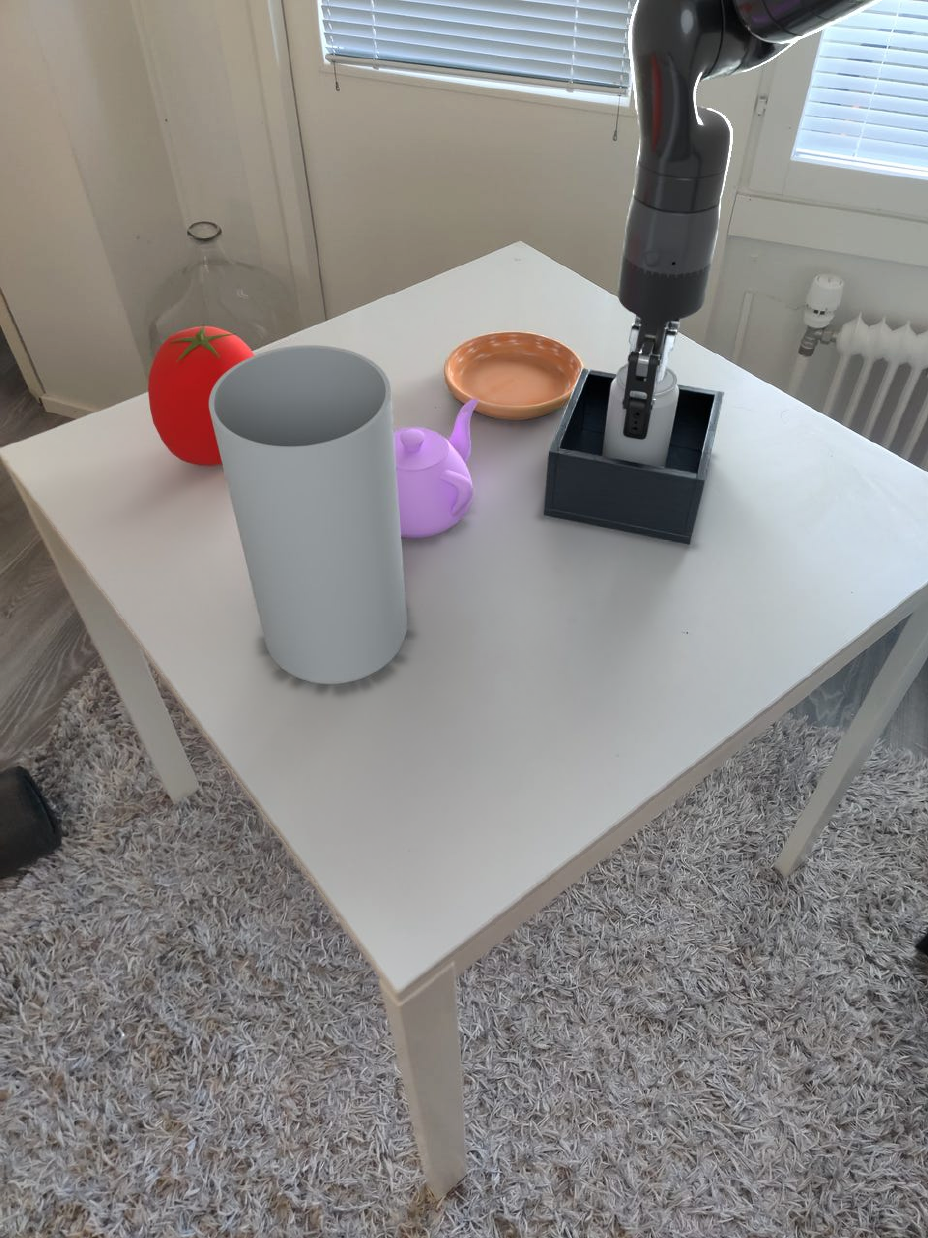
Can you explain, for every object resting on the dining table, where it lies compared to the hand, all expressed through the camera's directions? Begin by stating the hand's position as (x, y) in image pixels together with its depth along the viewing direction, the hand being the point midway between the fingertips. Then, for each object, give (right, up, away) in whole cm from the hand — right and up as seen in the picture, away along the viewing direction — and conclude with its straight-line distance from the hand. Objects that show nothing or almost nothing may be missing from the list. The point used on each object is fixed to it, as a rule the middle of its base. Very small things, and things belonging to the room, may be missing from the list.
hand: (641, 414), depth 91 cm
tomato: (-43, -2, +11) cm, 45 cm away
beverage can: (0, -5, +6) cm, 8 cm away
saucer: (-12, +7, +18) cm, 23 cm away
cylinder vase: (-28, -21, -7) cm, 36 cm away
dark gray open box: (0, -6, +6) cm, 9 cm away
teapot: (-22, -9, +4) cm, 24 cm away
